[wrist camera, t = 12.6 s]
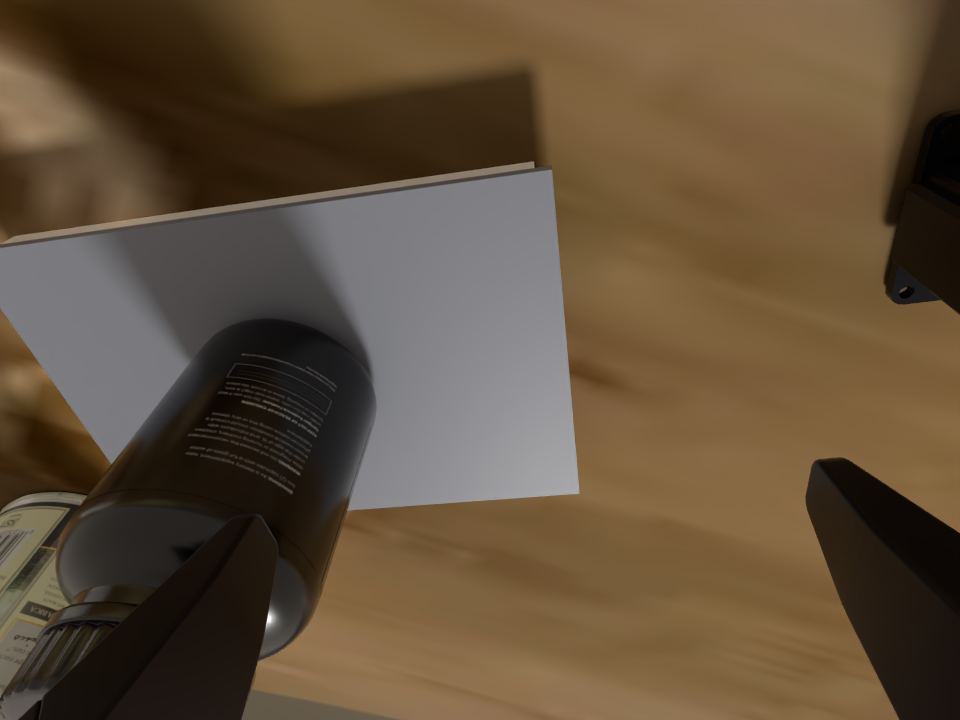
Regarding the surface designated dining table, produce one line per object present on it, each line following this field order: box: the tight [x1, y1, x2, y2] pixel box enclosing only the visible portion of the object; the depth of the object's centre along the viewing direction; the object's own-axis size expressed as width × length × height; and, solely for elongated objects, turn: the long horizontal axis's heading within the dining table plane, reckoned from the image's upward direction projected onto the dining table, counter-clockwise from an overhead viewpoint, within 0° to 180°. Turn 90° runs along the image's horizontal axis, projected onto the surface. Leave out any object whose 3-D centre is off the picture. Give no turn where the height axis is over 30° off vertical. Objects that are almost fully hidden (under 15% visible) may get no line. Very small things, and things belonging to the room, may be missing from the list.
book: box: [0, 161, 579, 510], centre depth 24 cm, size 20×14×3 cm
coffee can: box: [0, 492, 87, 720], centre depth 27 cm, size 10×10×14 cm
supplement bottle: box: [0, 318, 377, 720], centre depth 17 cm, size 7×7×12 cm
